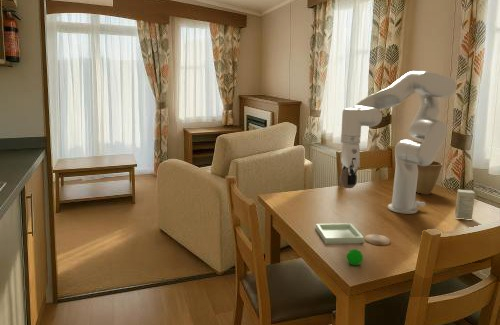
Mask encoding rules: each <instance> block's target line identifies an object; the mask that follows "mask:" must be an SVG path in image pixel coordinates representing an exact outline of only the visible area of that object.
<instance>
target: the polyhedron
mask: <svg viewBox="0 0 500 325" xmlns="http://www.w3.org/2000/svg"><path fill="white" fill-rule="evenodd" d="M346 259H347V260H346V261H347V262H348V264H350V265H352V266H358V265H360V264H361V263H362V262H363V260H364V256H363V254H362V252H361V250H358V249H356V248H355V249H351V250H349V251H348V252H347V254H346Z"/></svg>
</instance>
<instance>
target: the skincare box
mask: <svg viewBox="0 0 500 325" xmlns="http://www.w3.org/2000/svg"><path fill="white" fill-rule="evenodd" d="M475 195H476V192H475V191H474V190H472V189H471V190H470V189H457V193H456V200H455V210H454V218H455V217H456V218H464V219H472V220H473V214H474V213H473V212H474V204H475V198H476V197H475ZM456 218H455V219H456Z"/></svg>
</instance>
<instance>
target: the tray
mask: <svg viewBox="0 0 500 325" xmlns="http://www.w3.org/2000/svg"><path fill="white" fill-rule="evenodd" d="M315 230H316V231H317V233H318V235H319V236H320V237H321V239H322V241H323V242H324V244H329V245H331V244H332V245H333V244H335V245H336V244H364V241H365V236H363V235H362V233H361V232H360V231H359V230H358V229H357V228H356V227H355V225H353V224H352V223H351V222H347V223H344V222H342V223H341V222H339V223H315Z"/></svg>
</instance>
